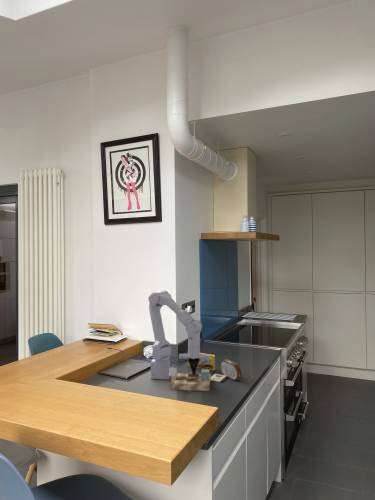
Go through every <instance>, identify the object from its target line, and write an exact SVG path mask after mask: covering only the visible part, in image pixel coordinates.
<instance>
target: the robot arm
mask: <svg viewBox="0 0 375 500" xmlns="http://www.w3.org/2000/svg"><path fill="white" fill-rule="evenodd" d="M147 298H148V302H149V304H148V305H149V306H148V309H149V317H150V321H151V325H152V326H151V327H152V331H153V332H152V333H153V337H154V342H153V345H152V346H151V347H152V352H151V354H152V357H153V359H152V358H151V362H150V379H151V380H152V379H153V380H169V379H170V378H171V375H172V373H171V372H170V359H171V356H172V354H173V348H172V347H171V343H170V341H169V340H167V339H166V334H165V329H164V325H163V324H164V323H163V319H162V314H161V310H162V307H163V306H167V307H168V308H169V309H170V310H172V312H173V313H175V315H176V318H177V320H178V321H179V322H181V324H182V325H183V326H184V327H185V332H186V334H187V353H179V354H178V359H179V360H182V359H183V360H184V359H186V360H187V363H188V362H189V364H190V366H191V367H190V366H189V367H190V368H191V373H192V374H195V373H197V372H196V371H197V369H198V368H197V365H198V363H199V360H200V359H207V360H209V355H205V354H206V353H204V354H200V353H201V331H202V329H203V324H202V322H201V321H200V320H199V319H195V318H194V317H193V316H192V315H191V314H190V313H189V311H188V310H185V309H182V308H181V307H180V305H178V304H177V302H176V301H175V300H174V299H173V298H172V295H171V293H169V291H167V290H161V291H156V292H155V291H152V292H151V293H150V294H149V296H148V297H147Z"/></svg>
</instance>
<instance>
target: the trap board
mask: <svg viewBox="0 0 375 500" xmlns="http://www.w3.org/2000/svg"><path fill="white" fill-rule="evenodd" d="M211 375H212V373H210V379H209V381H204V380H201V373H199V372H196V373H195V374H192V372H187V373H179V372H178V373H176V372H175V373H174V375H173V378H171V379H172V380H171V382H170V390H173V391H198V392H199V391H200V392H201V391H203V392H205V391H206V392H210V387H211V382H212V381H211Z"/></svg>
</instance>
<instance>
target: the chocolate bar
mask: <svg viewBox="0 0 375 500" xmlns="http://www.w3.org/2000/svg"><path fill="white" fill-rule="evenodd" d="M227 379H229V377H228V376H226V375H224V374H223V373H222V371H221V368H217V369H216V370H214V372H213V373H211V381H210V382H216V383H220V384H221V383H222V384H223V383H224V382H225V381H226V380H227Z"/></svg>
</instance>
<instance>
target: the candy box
mask: <svg viewBox="0 0 375 500" xmlns="http://www.w3.org/2000/svg"><path fill="white" fill-rule="evenodd" d="M200 354H205V355H209V360H207V359H200V360H199V363H198V365H197V368H196V369H206V370H210V371H216V355H215V354H210V353H209V354H208V353H204V352H203V353H202V352H200ZM187 367H190V368H191V366H190V364H189V362H188V361H187Z"/></svg>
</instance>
